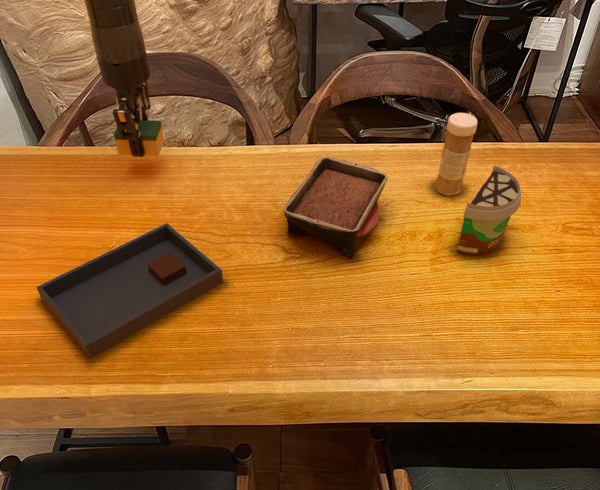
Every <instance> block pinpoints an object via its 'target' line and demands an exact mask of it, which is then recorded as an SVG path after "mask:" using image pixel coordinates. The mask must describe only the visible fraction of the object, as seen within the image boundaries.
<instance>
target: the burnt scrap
mask: <svg viewBox="0 0 600 490" xmlns="http://www.w3.org/2000/svg"><path fill="white" fill-rule="evenodd" d="M148 268H149V272H150V273H151V274H152V275H153V276H154V277H155V278H156V279H157V280H158V281H159V282H160V283H161V284H163V285H164V286H165V285H166V284H168V283H170V282H172V281H174V280H176V279H177V278H179V277H181V276H183V275H185V274H187V271H186V266H185V265H184V264H183V263H182V262H180V261H179V260H178V259H177V258H176V257H175V256H174V255H173V254H171V253H169V254H167V255H165V256H163V257H161V258H159V259H157V260H155V261H153V262H152V263H150V264H148Z"/></svg>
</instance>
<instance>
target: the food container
mask: <svg viewBox="0 0 600 490" xmlns="http://www.w3.org/2000/svg"><path fill="white" fill-rule="evenodd" d="M521 202H522V189H521V185H520V182H519V180H518V179H517V178H516V176H514V174H512V173H511V172H509V171H508V170H506V169H504V168H501V167H500V166H498V165H493V167H492V170H491V173H490V175H489V177H488V178H487V180H486V181H485V182H484V183H483V184H482V186H481V187H480V189H479V190H478V192H477V193H476V195H475V196H474V198H473V200H471V202H467V203H466V207H465V209H464V213H463V216H462V217H463V221H462V225H461V231H460V235H459V240H458V244H457V248H456V254H460V255H463V256H468V257H481V256H482V257H483V256H486V255H489V254H492V253H493V252H495V251H496V250H497V248H498V247H499V245H500V243H501V240H502V239H503V235H504V233H505V231H506V229H507V226H508V224H509V221H510V219H511V217H512V216H513V215H514V214H515V213H517V212H518V210H519V209H520V207H521V204H522V203H521Z"/></svg>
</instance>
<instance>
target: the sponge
mask: <svg viewBox="0 0 600 490" xmlns="http://www.w3.org/2000/svg"><path fill="white" fill-rule="evenodd" d="M135 127H136V126H135ZM140 128H141V136H142V140H143V145H144V150H145V155H144V156H143V157H159V156H160V154H161V151H162V147H163V145H164V142H165V138H164V133H163V126H162V121H161V120H155V119H152V120H151V119H150V120H149V119H148V120H143V121H142V122H141V123H140ZM113 138H114V142H115V146H116V151H117V154H118V156H132V154H131V150H130V146H129V142H128V140H122V138H121V135H120V133H119V130H118V127H117V126H116V129H115V130H114V133H113Z"/></svg>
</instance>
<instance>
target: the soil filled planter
mask: <svg viewBox="0 0 600 490" xmlns="http://www.w3.org/2000/svg"><path fill="white" fill-rule="evenodd" d="M388 180H389V177H388V175H387V174H386V173H385V172H382V171H380V170H378V169H375V168H373V167H369V166H366V165H362V164H358V163H355V162H352V161H348V160H345V159H340V158H335V157H330V156H322V157H319V159H318V160H317V161H316V162H315V164H314V166H313V167H312V169H311V170H310V172H309V173H308V174H307V176H306V178H305V179H304V180H303V181H302V183H300V185H299V186H298V188H297V189H296V190H295V192H293V193H292V195H291V196H290V198H289V200H288V201H287V203H286V204H285V205H284V207H283V216H284V218H286V223H287V232H286V233H285V234H286V235H290V234H299V233H300V234H301V233H308V234H310V235H311V236H313V237H315V238H316V239H318V240H319V241H321V242H323V243H324V244H325V245H327V246H329V247H331V248H332V249H333V250H335V251H336V252H337V251H338V252H339V253H341V254H343V255H345V256H347V257H348V258H350V259H354V255H355V254H356V251H357V250H358V248H359V246H360V245H361V244H362V242H363V241H364V240H365V239H366V237H367V236H368V235H369V233H370V232H372V231H373V230H374V229H375V228H376V227H377V226H378V225H379V220H380V208H379V205H378V202H379V199H380V197H381V195H382V192H383V190H384V189H385V187H386V184H387V182H388Z"/></svg>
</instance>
